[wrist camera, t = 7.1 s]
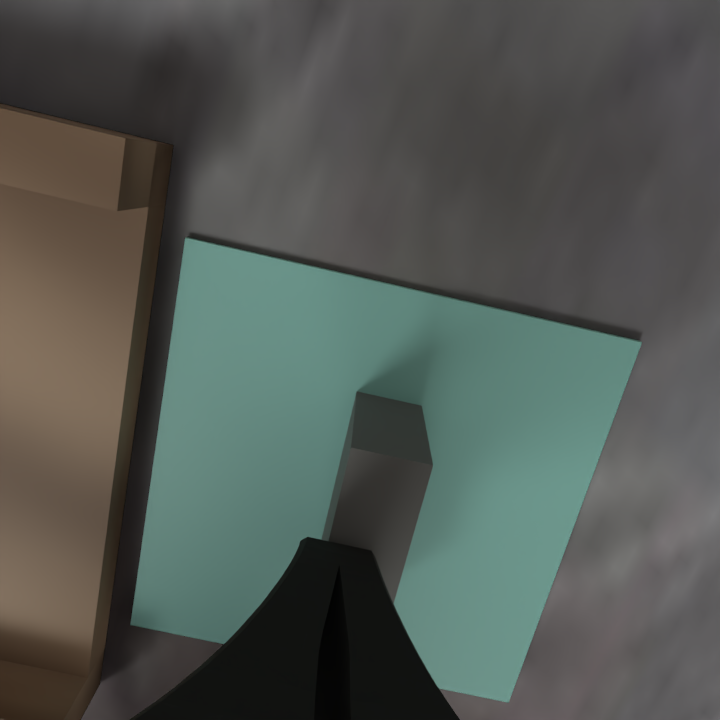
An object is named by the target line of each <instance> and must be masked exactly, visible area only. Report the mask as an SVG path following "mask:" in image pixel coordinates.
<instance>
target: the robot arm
mask: <svg viewBox="0 0 720 720" xmlns="http://www.w3.org/2000/svg"><path fill="white" fill-rule="evenodd" d="M130 720H460V719H459V718H458V716H457V715H456V714H455V712H454V711H453V709H452V708H451V706H450V705H449V703H448V702H447V700H446V699H445V698H444V696H443V694H442V693H441V691H440V690H439V688H438V687H437V685H436V683H435V682H434V680H433V678H432V677H431V675H430V673H429V672H428V670H427V668H426V666H425V665H424V663H423V661H422V659H421V658H420V656H419V654H418V652H417V650H416V649H415V647H414V645H413V643H412V641H411V639H410V637H409V635H408V633H407V631H406V629H405V627H404V625H403V623H402V621H401V619H400V617H399V615H398V612H397V610H396V608H395V606H394V604H393V601H392V599H391V597H390V594H389V592H388V590H387V587H386V585H385V582H384V580H383V577H382V574H381V572H380V569H379V566H378V563H377V560H376V557H375V556H374V554H373V552H372V551H371V550H367V549H362V548H358V547H353V546H348V545H344V544H339V543H334V542H330V541H325V540H321V539H316V538H311V537H306V538H304V539H302V540H301V541H300V543H299V547H298V549H297V551H296V553H295V555H294V557H293V559H292V561H291V563H290V564H289V566H288V567H287V569H286V570H285V572H284V574H283V575H282V577H281V578H280V579H279V581H278V582H277V583H276V585H275V586H274V587H273V589H272V590H271V591H270V593H269V594H268V596H267V597H266V598H265V599H264V601H263V602H262V603H261V604H260V606H259V607H258V608H257V609H256V610H255V611H254V612H253V614H252V615H251V616H250V617H249V618H248V619H247V620H246V621H245V623H244V624H243V625H242V626H241V627H240V628H239V629H238V630H237V631H236V633H235V634H234V635H233V636H232V637H231V638H230V639H229V640H228V641H227V642H226V643H225V644H224V645H223V646H222V647H221V648H220V649H219V650H217V651H216V652H215V653H214V654H213V655H212V656H211V657H210V658H209V659H208V660H207V661H206V662H204V663H203V664H202V665H201V666H200V667H199V668H198V669H196V670H195V671H194V672H193V673H192V674H190V675H189V676H188V677H187V678H186V679H184V680H183V681H182V682H181V683H180V684H178V685H177V686H176V687H175V688H173V689H172V690H171V691H169V692H168V693H167V694H166V695H164V696H163V697H162V698H160V699H159V700H158V701H156V702H155V703H153V704H152V705H150V706H149V707H148V708H146V709H145V710H143V711H142V712H140V713H139V714H137V715H136V716H134V717H133V718H131V719H130Z"/></svg>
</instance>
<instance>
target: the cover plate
mask: <svg viewBox="0 0 720 720" xmlns="http://www.w3.org/2000/svg"><path fill="white" fill-rule="evenodd" d="M641 344H642V342H640V341H639V340H635V339H630V338H626V337H621V336H617V335H613V334H608V333H604V332H600V331H595V330H591V329H587V328H582V327H578V326H573V325H569V324H565V323H560V322H556V321H552V320H547V319H543V318H539V317H534V316H530V315H525V314H521V313H517V312H512V311H508V310H504V309H499V308H495V307H491V306H486V305H482V304H477V303H473V302H469V301H464V300H460V299H456V298H451V297H447V296H442V295H438V294H434V293H429V292H425V291H421V290H416V289H412V288H408V287H403V286H399V285H394V284H390V283H386V282H381V281H377V280H373V279H368V278H364V277H360V276H355V275H351V274H346V273H342V272H338V271H333V270H329V269H325V268H320V267H316V266H312V265H307V264H303V263H298V262H294V261H290V260H285V259H281V258H277V257H272V256H268V255H263V254H259V253H255V252H250V251H246V250H242V249H237V248H233V247H229V246H224V245H220V244H215V243H211V242H207V241H202V240H198V239H194V238H189V237H186V238H185V243H184V250H183V257H182V264H181V271H180V278H179V285H178V292H177V299H176V306H175V313H174V320H173V328H172V335H171V342H170V349H169V356H168V363H167V370H166V377H165V384H164V391H163V398H162V405H161V412H160V419H159V426H158V434H157V441H156V448H155V455H154V462H153V469H152V476H151V483H150V490H149V497H148V504H147V511H146V518H145V525H144V532H143V539H142V547H141V554H140V561H139V568H138V575H137V582H136V589H135V596H134V603H133V610H132V617H131V624H130V625H133V626H138V627H143V628H148V629H153V630H157V631H162V632H167V633H172V634H177V635H182V636H187V637H192V638H196V639H201V640H206V641H211V642H216V643H221V644H225V643H226V642H227V641H228V640H229V639H230V638H231V637H232V636H233V635H234V634H235V633H236V631H237V630H238V629H239V628H240V627H241V626H242V625H243V624H244V623H245V621H246V620H247V619H248V618H249V617H250V616H251V615H252V614H253V612H254V611H255V610H256V609H257V608H258V607H259V606H260V604H261V603H262V602H263V601H264V599H265V598H266V597H267V596H268V594H269V593H270V591H271V590H272V589H273V587H274V586H275V585H276V583H277V582H278V581H279V579H280V578H281V577H282V575H283V574H284V572H285V570H286V569H287V567H288V566H289V564H290V563H291V561H292V559H293V557H294V555H295V553H296V551H297V549H298V547H299V543H300V541H301V540H302V539H304V538H306V537H311V538H316V539H321V540H325V541H330V542H334V543H339V544H344V545H348V546H353V547H358V548H362V549H367V550H371V551H372V552H373V554H374V556H375V557H376V560H377V563H378V566H379V569H380V572H381V574H382V577H383V580H384V582H385V585H386V587H387V590H388V592H389V594H390V597H391V599H392V601H393V604H394V606H395V608H396V610H397V612H398V615H399V617H400V619H401V621H402V623H403V625H404V627H405V629H406V631H407V633H408V635H409V637H410V639H411V641H412V643H413V645H414V647H415V649H416V650H417V652H418V654H419V656H420V658H421V659H422V661H423V663H424V665H425V666H426V668H427V670H428V672H429V673H430V675H431V677H432V678H433V680H434V682H435V683H436V685H437V687H438V688H440V689H444V690H449V691H454V692H459V693H464V694H469V695H474V696H478V697H483V698H488V699H493V700H498V701H503V702H508V703H509V700H510V697H511V695H512V692H513V689H514V687H515V684H516V681H517V678H518V676H519V673H520V670H521V668H522V665H523V662H524V660H525V657H526V654H527V651H528V649H529V646H530V643H531V641H532V638H533V635H534V633H535V630H536V627H537V624H538V622H539V619H540V616H541V614H542V611H543V608H544V606H545V603H546V600H547V598H548V595H549V592H550V589H551V587H552V584H553V581H554V579H555V576H556V573H557V571H558V568H559V565H560V562H561V560H562V557H563V554H564V552H565V549H566V546H567V544H568V541H569V538H570V535H571V533H572V530H573V527H574V525H575V522H576V519H577V517H578V514H579V511H580V508H581V506H582V503H583V500H584V498H585V495H586V492H587V490H588V487H589V484H590V481H591V479H592V476H593V473H594V471H595V468H596V465H597V463H598V460H599V457H600V454H601V452H602V449H603V446H604V444H605V441H606V438H607V436H608V433H609V430H610V428H611V425H612V422H613V419H614V417H615V414H616V411H617V409H618V406H619V403H620V401H621V398H622V395H623V392H624V390H625V387H626V384H627V382H628V379H629V376H630V374H631V371H632V368H633V365H634V363H635V360H636V357H637V355H638V352H639V349H640V347H641Z"/></svg>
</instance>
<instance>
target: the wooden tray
mask: <svg viewBox="0 0 720 720" xmlns="http://www.w3.org/2000/svg"><path fill="white" fill-rule="evenodd" d="M172 152H173V145H171V144H167V143H162V142H158V141H154V140H150V139H146V138H142V137H138V136H134V135H129V134H125V133H121V132H117V131H113V130H109V129H105V128H101V127H96V126H92V125H88V124H84V123H80V122H76V121H72V120H68V119H63V118H59V117H55V116H51V115H47V114H43V113H39V112H35V111H30V110H26V109H22V108H18V107H14V106H10V105H6V104H2V103H0V720H81V718H82V716H83V714H84V712H85V710H86V709H87V707H88V705H89V703H90V701H91V699H92V698H93V696H94V694H95V692H96V690H97V688H98V687H99V685H100V679H101V672H102V665H103V658H104V650H105V643H106V636H107V628H108V621H109V614H110V606H111V599H112V592H113V584H114V577H115V570H116V562H117V555H118V548H119V540H120V533H121V526H122V518H123V511H124V504H125V496H126V489H127V482H128V474H129V467H130V460H131V453H132V445H133V438H134V431H135V423H136V416H137V409H138V401H139V394H140V387H141V379H142V372H143V365H144V357H145V350H146V343H147V335H148V328H149V321H150V313H151V306H152V299H153V291H154V284H155V277H156V269H157V262H158V255H159V247H160V240H161V233H162V226H163V218H164V211H165V204H166V196H167V189H168V182H169V174H170V167H171V160H172Z"/></svg>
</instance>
